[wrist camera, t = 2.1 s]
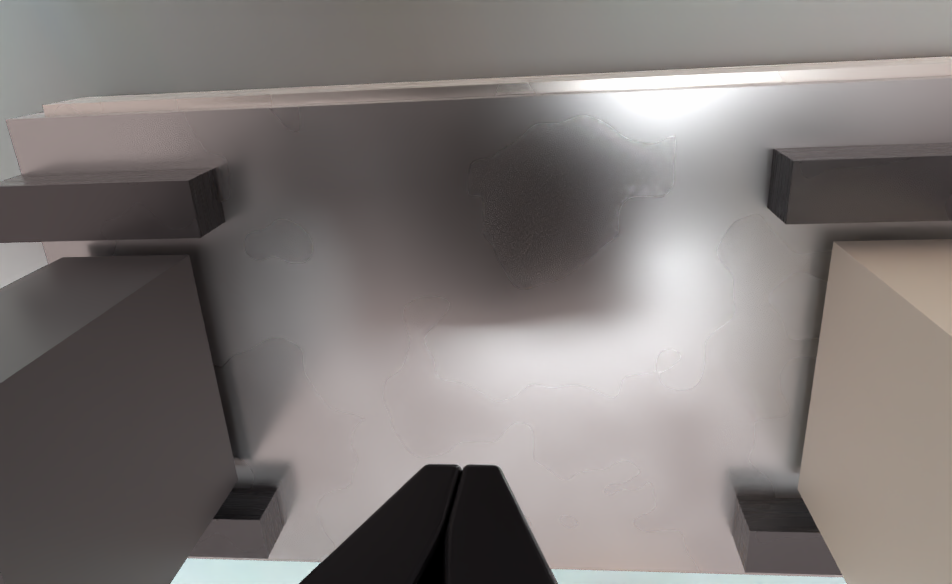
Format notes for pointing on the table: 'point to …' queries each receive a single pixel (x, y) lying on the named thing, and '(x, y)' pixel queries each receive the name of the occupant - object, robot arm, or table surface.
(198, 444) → the toggle black
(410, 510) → the robot arm
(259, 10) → the table surface
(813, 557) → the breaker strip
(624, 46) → the table surface
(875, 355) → the beige cardboard box
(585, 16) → the table surface
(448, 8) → the table surface
